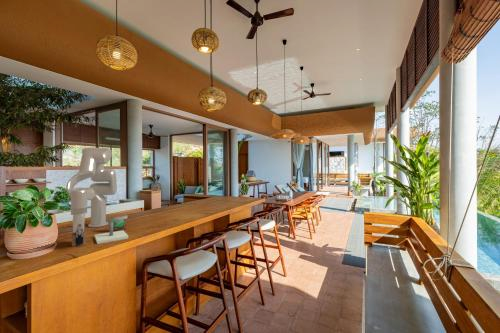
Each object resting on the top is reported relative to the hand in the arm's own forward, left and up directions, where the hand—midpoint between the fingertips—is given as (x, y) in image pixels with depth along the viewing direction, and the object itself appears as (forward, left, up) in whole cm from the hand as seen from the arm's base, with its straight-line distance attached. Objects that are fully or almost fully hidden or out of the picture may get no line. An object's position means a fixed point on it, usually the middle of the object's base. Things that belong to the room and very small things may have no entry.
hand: (79, 242), depth 131 cm
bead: (0, 0, -1) cm, 1 cm away
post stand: (-2, +16, -1) cm, 16 cm away
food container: (-17, +21, -1) cm, 27 cm away
